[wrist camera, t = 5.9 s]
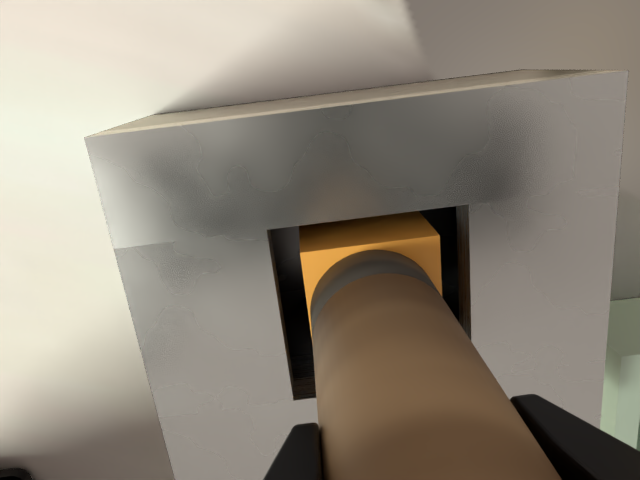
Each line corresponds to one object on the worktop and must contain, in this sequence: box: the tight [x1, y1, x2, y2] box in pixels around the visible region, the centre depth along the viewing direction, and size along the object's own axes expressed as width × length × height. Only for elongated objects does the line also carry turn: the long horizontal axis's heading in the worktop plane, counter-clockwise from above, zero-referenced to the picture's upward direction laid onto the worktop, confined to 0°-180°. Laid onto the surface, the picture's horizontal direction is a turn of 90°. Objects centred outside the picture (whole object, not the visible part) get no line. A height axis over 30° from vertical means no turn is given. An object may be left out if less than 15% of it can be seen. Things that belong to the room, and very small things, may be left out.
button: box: [299, 211, 442, 345], centre depth 14 cm, size 3×3×4 cm
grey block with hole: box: [84, 70, 628, 480], centre depth 15 cm, size 10×12×6 cm
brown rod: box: [310, 250, 562, 480], centre depth 8 cm, size 3×3×11 cm
